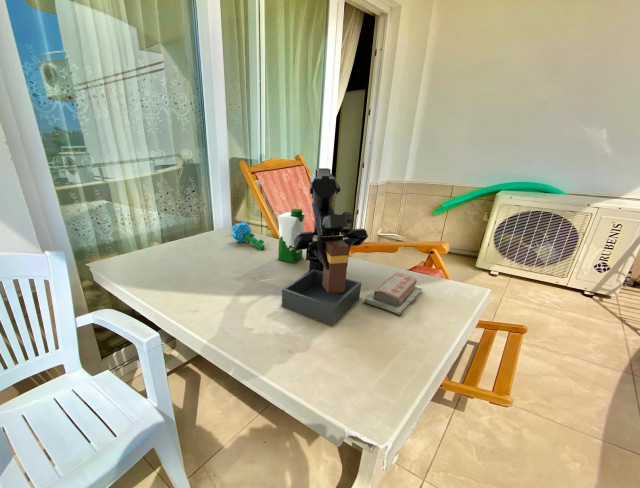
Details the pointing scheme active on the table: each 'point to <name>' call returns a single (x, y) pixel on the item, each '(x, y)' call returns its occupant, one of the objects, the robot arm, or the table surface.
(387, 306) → the packaged product
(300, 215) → the milk carton
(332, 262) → the chocolate box
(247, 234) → the toy flower
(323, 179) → the robot arm
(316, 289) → the open storage bin
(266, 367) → the table surface
